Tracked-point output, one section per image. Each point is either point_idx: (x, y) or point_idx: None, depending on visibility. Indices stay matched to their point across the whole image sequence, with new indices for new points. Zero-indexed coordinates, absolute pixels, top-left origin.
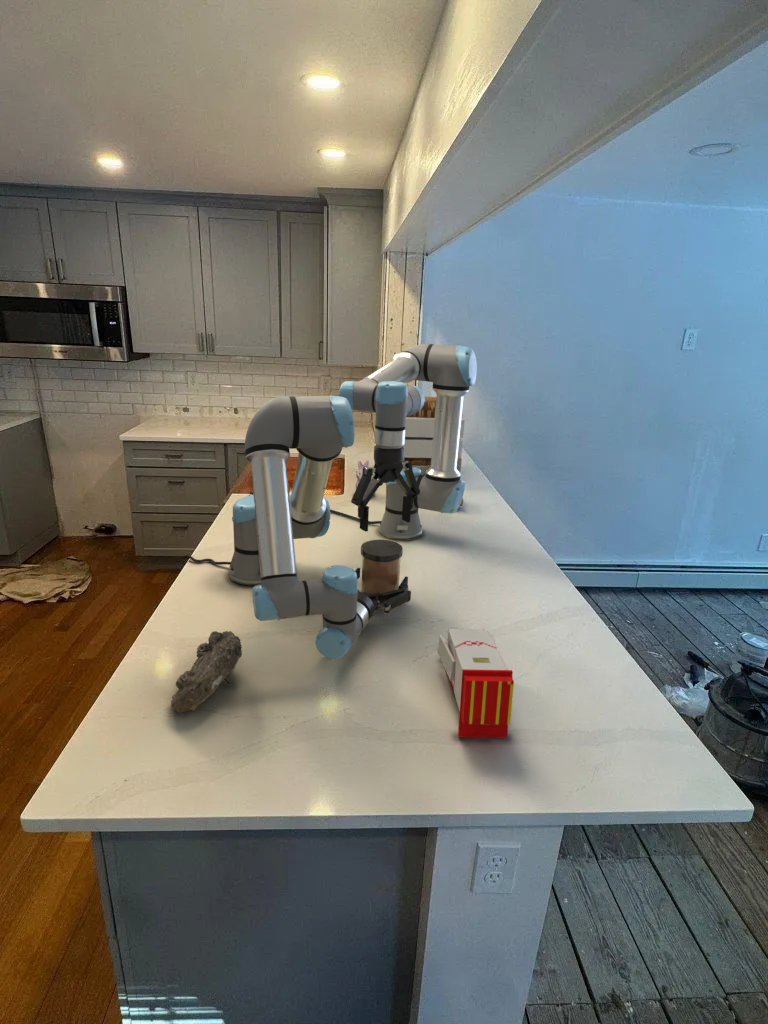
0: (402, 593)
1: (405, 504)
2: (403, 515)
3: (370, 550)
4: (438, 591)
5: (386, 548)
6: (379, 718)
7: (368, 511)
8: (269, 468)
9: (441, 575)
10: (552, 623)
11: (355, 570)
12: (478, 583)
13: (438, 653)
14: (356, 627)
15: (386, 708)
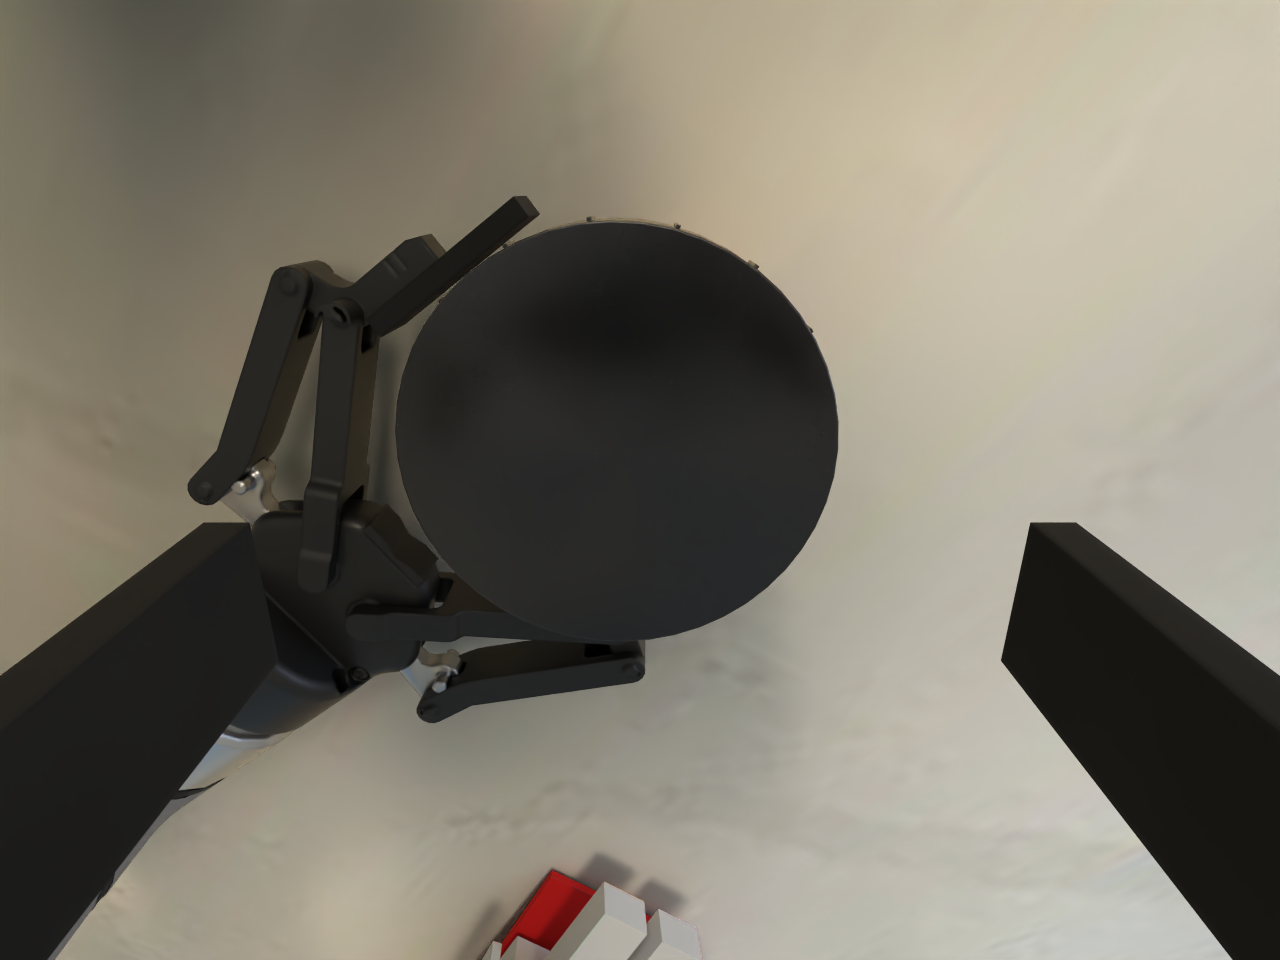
0: (582, 669)
1: (1213, 794)
2: (1063, 600)
3: (470, 455)
4: (981, 458)
5: (644, 496)
6: (197, 955)
7: (51, 945)
8: None
9: (1184, 299)
10: (1129, 901)
11: (469, 235)
12: (1254, 504)
13: (487, 953)
14: (155, 829)
15: (236, 938)
